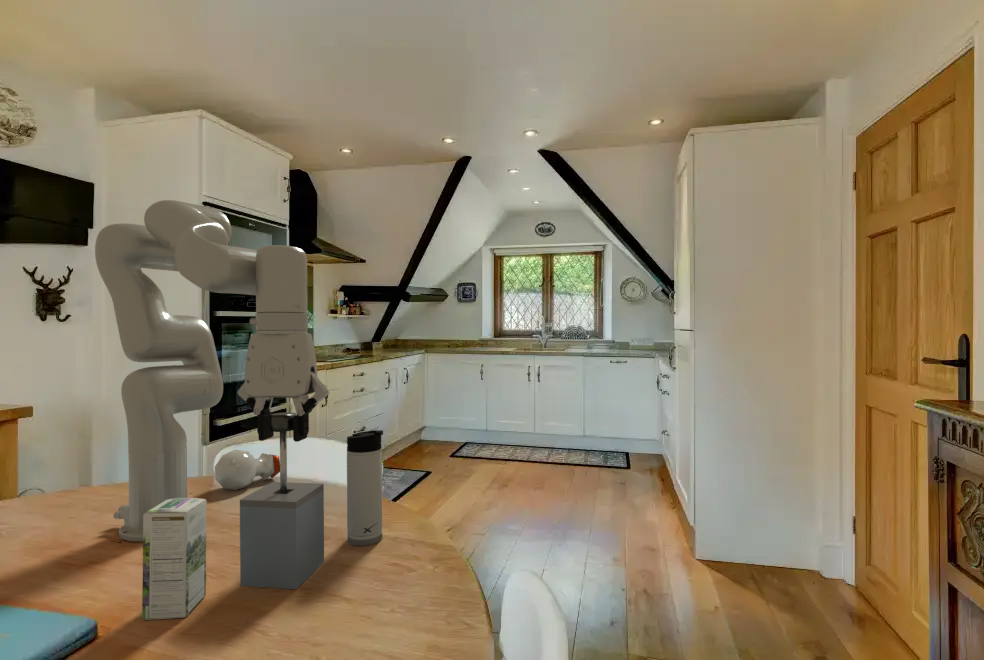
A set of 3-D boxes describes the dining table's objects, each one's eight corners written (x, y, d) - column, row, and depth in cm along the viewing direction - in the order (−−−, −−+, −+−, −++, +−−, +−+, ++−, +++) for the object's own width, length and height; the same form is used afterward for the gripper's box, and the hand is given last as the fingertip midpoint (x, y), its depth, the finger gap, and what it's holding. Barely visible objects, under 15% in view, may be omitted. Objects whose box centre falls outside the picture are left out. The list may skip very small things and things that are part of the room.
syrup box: (165, 598, 73) (164, 498, 73) (207, 596, 74) (207, 496, 74) (141, 621, 68) (140, 512, 68) (187, 618, 68) (186, 510, 68)
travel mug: (375, 548, 90) (374, 434, 90) (341, 545, 91) (340, 433, 91) (389, 533, 96) (388, 427, 96) (357, 531, 97) (356, 426, 97)
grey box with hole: (240, 585, 77) (239, 499, 77) (273, 559, 86) (272, 481, 86) (296, 589, 76) (295, 501, 76) (324, 561, 85) (323, 483, 85)
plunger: (256, 514, 78) (256, 417, 78) (277, 502, 84) (276, 411, 84) (291, 516, 78) (290, 417, 78) (309, 503, 83) (308, 411, 83)
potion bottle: (211, 499, 120) (267, 490, 133) (233, 480, 117) (289, 472, 129) (202, 464, 124) (258, 458, 137) (223, 444, 120) (278, 439, 133)
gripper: (217, 325, 78) (217, 443, 78) (322, 324, 76) (323, 446, 76) (246, 325, 86) (247, 433, 86) (343, 324, 83) (344, 435, 83)
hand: (283, 438), depth 81 cm, fingers open, 5 cm apart
